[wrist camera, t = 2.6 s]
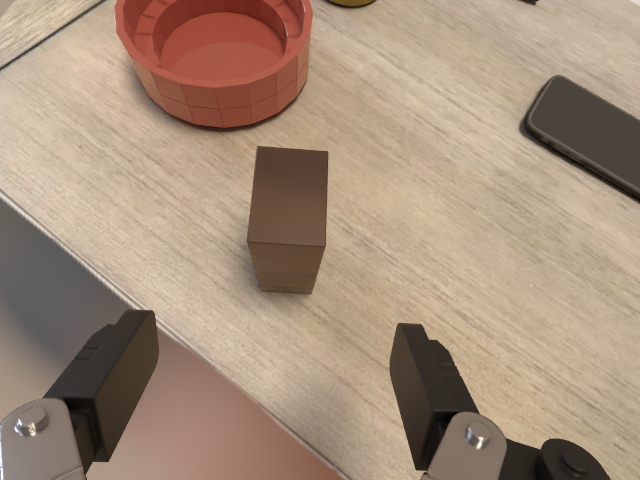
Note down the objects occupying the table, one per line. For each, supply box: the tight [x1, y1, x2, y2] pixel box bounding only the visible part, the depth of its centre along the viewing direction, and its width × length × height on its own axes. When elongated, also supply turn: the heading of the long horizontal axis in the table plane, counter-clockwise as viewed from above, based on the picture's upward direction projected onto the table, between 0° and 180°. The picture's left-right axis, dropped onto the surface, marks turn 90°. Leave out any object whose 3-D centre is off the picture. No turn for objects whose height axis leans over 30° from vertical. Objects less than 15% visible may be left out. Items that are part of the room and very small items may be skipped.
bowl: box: [114, 0, 313, 128], centre depth 30 cm, size 14×14×5 cm
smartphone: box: [524, 75, 640, 199], centre depth 32 cm, size 7×1×15 cm
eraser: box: [247, 146, 328, 294], centre depth 22 cm, size 5×4×10 cm
